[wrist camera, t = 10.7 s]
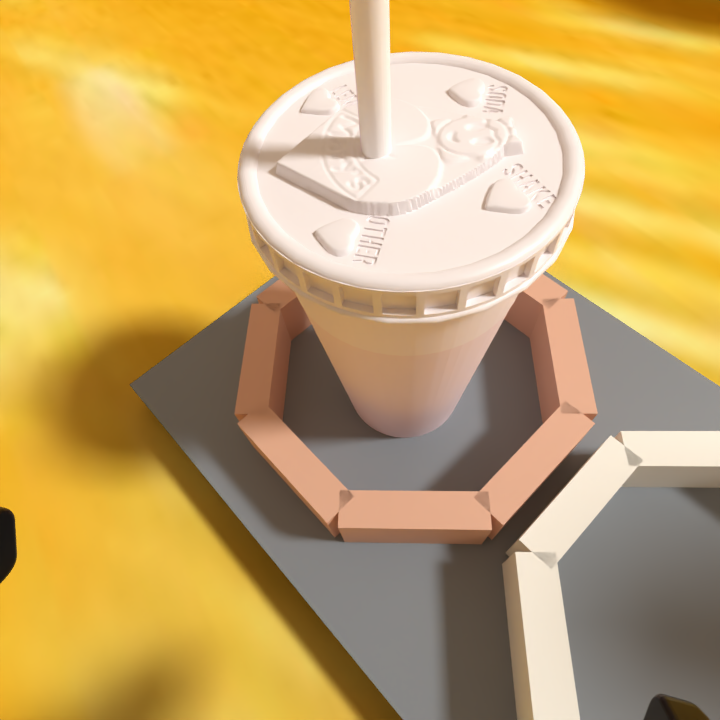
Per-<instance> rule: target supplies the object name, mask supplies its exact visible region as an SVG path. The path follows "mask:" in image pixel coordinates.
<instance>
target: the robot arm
mask: <svg viewBox="0 0 720 720" xmlns="http://www.w3.org/2000/svg"><path fill="white" fill-rule="evenodd" d="M16 558H17V547H16V529H15V517H14V515H13V513H12V511H10V510H9V509H7V508H3V507H0V583H1V582H2V581H3V580H4V579H5V578H6V577H7V576H8V574H9V573H10V572H11V570H12V568H13V567H14V564H15V562H16ZM643 720H710V719H709V718H708V717H707V716H706V715H705V713H704V712H703V711H702V710H701V709H700V708H699V707H698V706H696V705H695V704H694V703H692V702H689V701H687V700H683V699H679V698H676V697H672V696H669V695H665V694H656V695H655V696H654V697H653V698H652V699H651V701H650V703H649V706H648V708H647V711H646V714H645V716H644V719H643Z"/></svg>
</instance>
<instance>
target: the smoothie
mask: <svg viewBox="0 0 720 720" xmlns="http://www.w3.org/2000/svg"><path fill="white" fill-rule="evenodd" d="M349 2H350V15H351V27H352V40H353V53H354V60H352V61H349V62H346V63H343V64H340V65H337V66H334V67H331V68H328V69H326V70H324V71H322V72H320V73H318V74H316V75H314V76H311V77H309V78H307V79H305V80H303V81H302V82H300V83H299V84H298V85H296V86H295V87H293V88H292V89H290V90H289V91H287V92H286V93H284V94H283V95H282V96H281V97H279V98H278V99H277V100H276V101H275V102H274V103H273V104H272V105H271V106H270V107H269V108H268V109H267V110H266V111H265V112H264V113H263V114H262V116H261V117H260V118H259V119H258V121H257V122H256V123H255V125H254V126H253V128H252V130H251V131H250V133H249V135H248V137H247V139H246V141H245V143H244V146H243V149H242V151H241V154H240V159H239V164H238V177H237V178H238V190H239V194H240V198H241V202H242V205H243V208H244V210H245V213H246V216H247V221H248V226H249V231H250V236H251V241H252V243H253V244H254V246H255V248H256V249H257V251H258V252H259V254H260V256H261V257H262V259H263V261H264V262H265V264H266V265H267V267H268V269H269V270H270V272H271V273H273V274H274V275H275V276H276V277H277V278H279V279H280V280H281V281H282V282H283V283H285V284H286V285H287V286H288V287H289V288H291V289H292V290H293V291H294V292H295V294H296V296H297V298H298V300H299V301H300V303H301V305H302V307H303V308H304V310H305V312H306V314H307V316H308V318H309V320H310V322H311V324H312V326H313V328H314V330H315V332H316V334H317V336H318V338H319V340H320V342H321V343H322V345H323V347H324V349H325V351H326V353H327V355H328V357H329V359H330V361H331V363H332V365H333V367H334V369H335V371H336V373H337V375H338V377H339V379H340V381H341V383H342V385H343V386H344V388H345V390H346V392H347V394H348V396H349V398H350V400H351V402H352V404H353V406H354V408H355V410H356V412H357V413H358V415H359V416H360V417H361V419H362V420H363V421H364V422H365V423H366V424H367V425H369V426H370V427H371V428H373V429H375V430H376V431H378V432H380V433H383V434H385V435H389V436H393V437H400V438H410V437H417V436H421V435H424V434H427V433H429V432H431V431H433V430H435V429H437V428H438V427H440V426H441V425H442V424H443V423H444V422H445V421H446V420H447V419H448V418H449V417H450V415H451V414H452V412H453V410H454V409H455V407H456V405H457V403H458V401H459V400H460V398H461V396H462V394H463V392H464V391H465V389H466V387H467V385H468V383H469V382H470V380H471V378H472V376H473V374H474V373H475V371H476V369H477V367H478V365H479V363H480V362H481V360H482V358H483V356H484V354H485V353H486V351H487V349H488V347H489V345H490V344H491V342H492V340H493V338H494V336H495V335H496V333H497V331H498V329H499V327H500V326H501V324H502V322H503V320H504V318H505V317H506V315H507V313H508V311H509V309H510V308H511V306H512V305H513V303H514V302H515V300H516V298H517V296H518V294H519V293H521V292H522V291H524V290H526V289H527V288H528V287H529V286H530V285H531V284H532V283H533V282H534V281H536V280H537V279H538V278H539V277H540V276H541V275H542V274H543V273H544V272H545V271H546V270H547V269H548V268H549V267H550V266H551V265H552V264H553V263H554V262H555V261H556V260H557V258H558V256H559V254H560V252H561V250H562V248H563V246H564V244H565V242H566V240H567V238H568V236H569V234H570V233H571V231H572V229H573V221H574V212H575V208H576V206H577V204H578V201H579V198H580V195H581V192H582V188H583V183H584V177H585V161H584V153H583V149H582V145H581V142H580V139H579V137H578V134H577V132H576V130H575V128H574V126H573V125H572V123H571V121H570V120H569V118H568V117H567V116H566V114H565V113H564V112H563V110H562V109H561V108H560V107H559V106H558V105H557V104H556V103H555V102H554V101H553V100H552V99H551V98H550V97H549V96H548V95H547V94H546V93H545V92H544V91H542V90H541V89H539V88H538V87H536V86H535V85H533V84H532V83H530V82H529V81H527V80H526V79H524V78H522V77H521V76H519V75H517V74H515V73H512V72H510V71H508V70H506V69H503V68H501V67H499V66H497V65H494V64H491V63H487V62H484V61H480V60H477V59H473V58H470V57H465V56H458V55H451V54H445V53H434V52H402V53H390V23H389V0H349Z"/></svg>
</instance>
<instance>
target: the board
mask: <svg viewBox="0 0 720 720" xmlns="http://www.w3.org/2000/svg"><path fill="white" fill-rule="evenodd" d="M130 386H131V387H132V388H133V390H134V391H135V392H136V393H137V395H138V396H139V397H140V398H141V399H142V401H143V402H144V403H145V404H146V406H147V407H148V408H149V409H150V410H151V412H152V413H153V414H154V415H155V417H156V418H157V419H158V420H159V422H160V423H161V424H162V425H163V426H164V428H165V429H166V430H167V431H168V433H169V434H170V435H171V436H172V437H173V439H174V440H175V441H176V442H177V444H178V445H179V446H180V447H181V448H182V450H183V451H184V452H185V453H186V455H187V456H188V457H189V458H190V459H191V461H192V462H193V463H194V464H195V466H196V467H197V468H198V469H199V471H200V472H201V473H202V474H203V475H204V477H205V478H206V479H207V480H208V482H209V483H210V484H211V485H212V486H213V488H214V489H215V490H216V491H217V493H218V494H219V495H220V496H221V497H222V499H223V500H224V501H225V502H226V504H227V505H228V506H229V507H230V509H231V510H232V511H233V512H234V513H235V515H236V516H237V517H238V518H239V520H240V521H241V522H242V523H243V524H244V526H245V527H246V528H247V529H248V531H249V532H250V533H251V534H252V535H253V537H254V538H255V539H256V540H257V542H258V543H259V544H260V545H261V546H262V548H263V549H264V550H265V551H266V553H267V554H268V555H269V556H270V558H271V559H272V560H273V561H274V562H275V564H276V565H277V566H278V567H279V569H280V570H281V571H282V572H283V573H284V575H285V576H286V577H287V578H288V580H289V581H290V582H291V583H292V584H293V586H294V587H295V588H296V589H297V591H298V592H299V593H300V594H301V595H302V597H303V598H304V599H305V600H306V602H307V603H308V604H309V605H310V607H311V608H312V609H313V610H314V611H315V613H316V614H317V615H318V616H319V618H320V619H321V620H322V621H323V622H324V624H325V625H326V626H327V627H328V629H329V630H330V631H331V632H332V633H333V635H334V636H335V637H336V638H337V640H338V641H339V642H340V643H341V645H342V646H343V647H344V648H345V649H346V651H347V652H348V653H349V654H350V656H351V657H352V658H353V659H354V660H355V662H356V663H357V664H358V665H359V667H360V668H361V669H362V670H363V671H364V673H365V674H366V675H367V676H368V678H369V679H370V680H371V681H372V682H373V684H374V685H375V686H376V687H377V689H378V690H379V691H380V692H381V694H382V695H383V696H384V697H385V698H386V700H387V701H388V702H389V703H390V705H391V706H392V707H393V708H394V709H395V711H396V712H397V713H398V714H399V716H400V717H401V718H402V719H403V720H643V719H644V716H645V714H646V711H647V708H648V706H649V703H650V701H651V699H652V698H653V697H654V696H655V695H656V694H665V695H669V696H672V697H676V698H679V699H683V700H687V701H689V702H692V703H694V704H695V705H696V706H698V707H699V708H700V709H701V710H702V711H703V712H704V713H705V715H706V716H707V717H708V718H709V719H710V720H720V387H719V386H718V385H716V384H715V383H713V382H712V381H710V380H709V379H707V378H706V377H704V376H703V375H701V374H700V373H698V372H697V371H695V370H694V369H692V368H691V367H689V366H688V365H686V364H685V363H683V362H682V361H680V360H679V359H677V358H676V357H674V356H673V355H671V354H670V353H668V352H667V351H665V350H664V349H662V348H660V347H659V346H657V345H656V344H654V343H653V342H651V341H650V340H648V339H647V338H645V337H644V336H642V335H641V334H639V333H638V332H636V331H635V330H633V329H632V328H630V327H629V326H627V325H626V324H624V323H623V322H621V321H620V320H618V319H617V318H615V317H614V316H612V315H611V314H609V313H608V312H606V311H605V310H603V309H601V308H600V307H598V306H597V305H595V304H594V303H592V302H591V301H589V300H588V299H586V298H585V297H583V296H582V295H580V294H579V293H577V292H576V291H574V290H573V289H571V288H570V287H568V286H567V285H565V284H564V283H562V282H561V281H559V280H558V279H556V278H555V277H553V276H552V275H550V274H549V273H547V272H546V271H545V272H544V273H543V274H542V275H541V276H540V277H539V278H538V279H537V280H536V281H534V282H533V283H532V284H531V285H530V286H529V287H528V288H527V289H526V290H524V291H522V292H521V293H519V294H518V296H517V298H516V300H515V302H514V303H513V305H512V306H511V308H510V309H509V311H508V313H507V315H506V317H505V318H504V320H503V322H502V324H501V326H500V327H499V329H498V331H497V333H496V335H495V336H494V338H493V340H492V342H491V344H490V345H489V347H488V349H487V351H486V353H485V354H484V356H483V358H482V360H481V362H480V363H479V365H478V367H477V369H476V371H475V373H474V374H473V376H472V378H471V380H470V382H469V383H468V385H467V387H466V389H465V391H464V392H463V394H462V396H461V398H460V400H459V401H458V403H457V405H456V407H455V409H454V410H453V412H452V414H451V415H450V417H449V418H448V419H447V420H446V421H445V422H444V423H443V424H442V425H441V426H440V427H438V428H437V429H435V430H433V431H431V432H429V433H427V434H424V435H421V436H417V437H410V438H400V437H393V436H389V435H385V434H383V433H380V432H378V431H376V430H375V429H373V428H371V427H370V426H369V425H367V424H366V423H365V422H364V421H363V420H362V419H361V417H360V416H359V415H358V413H357V412H356V410H355V408H354V406H353V404H352V402H351V400H350V398H349V396H348V394H347V392H346V390H345V388H344V386H343V385H342V383H341V381H340V379H339V377H338V375H337V373H336V371H335V369H334V367H333V365H332V363H331V361H330V359H329V357H328V355H327V353H326V351H325V349H324V347H323V345H322V343H321V342H320V340H319V338H318V336H317V334H316V332H315V330H314V328H313V326H312V324H311V322H310V320H309V318H308V316H307V314H306V312H305V310H304V308H303V307H302V305H301V303H300V301H299V300H298V298H297V296H296V294H295V292H294V291H293V290H292V289H291V288H289V287H288V286H287V285H286V284H285V283H283V282H282V281H281V280H280V279H279V278H277V277H276V276H274V277H273V278H272V279H270V280H269V281H268V282H266V283H265V284H264V285H262V286H261V287H260V288H258V289H257V290H256V291H254V292H253V293H252V294H250V295H249V296H248V297H246V298H245V299H244V300H242V301H241V302H240V303H238V304H237V305H236V306H234V307H233V308H232V309H230V310H229V311H228V312H226V313H225V314H224V315H222V316H221V317H220V318H218V319H217V320H216V321H214V322H213V323H212V324H210V325H209V326H207V327H206V328H205V329H203V330H202V331H201V332H199V333H198V334H197V335H195V336H194V337H193V338H191V339H190V340H189V341H187V342H186V343H185V344H183V345H182V346H181V347H179V348H178V349H177V350H175V351H174V352H173V353H171V354H170V355H169V356H167V357H166V358H165V359H163V360H162V361H161V362H159V363H158V364H157V365H155V366H154V367H153V368H151V369H150V370H149V371H147V372H146V373H145V374H143V375H142V376H141V377H139V378H138V379H137V380H135V381H134V382H133V383H131V384H130Z"/></svg>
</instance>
